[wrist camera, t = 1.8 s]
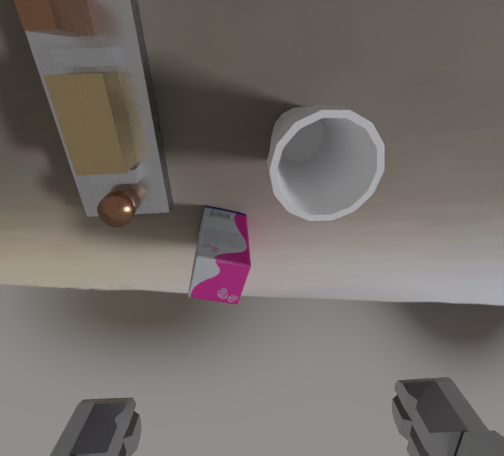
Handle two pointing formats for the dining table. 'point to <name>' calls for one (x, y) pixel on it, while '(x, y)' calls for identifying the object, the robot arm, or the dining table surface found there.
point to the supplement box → (221, 256)
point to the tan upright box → (93, 121)
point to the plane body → (133, 89)
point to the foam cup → (324, 161)
